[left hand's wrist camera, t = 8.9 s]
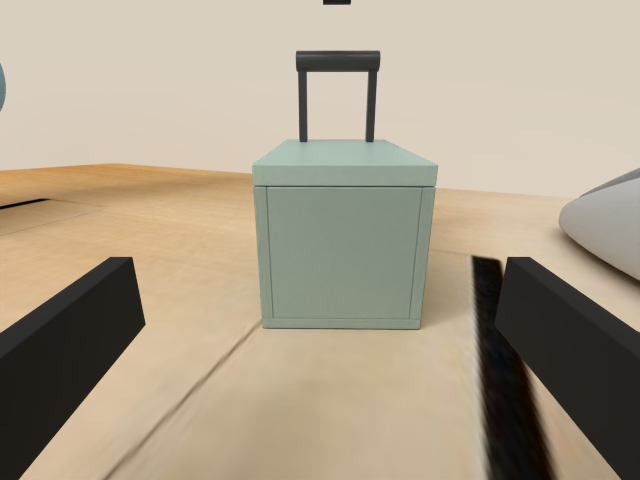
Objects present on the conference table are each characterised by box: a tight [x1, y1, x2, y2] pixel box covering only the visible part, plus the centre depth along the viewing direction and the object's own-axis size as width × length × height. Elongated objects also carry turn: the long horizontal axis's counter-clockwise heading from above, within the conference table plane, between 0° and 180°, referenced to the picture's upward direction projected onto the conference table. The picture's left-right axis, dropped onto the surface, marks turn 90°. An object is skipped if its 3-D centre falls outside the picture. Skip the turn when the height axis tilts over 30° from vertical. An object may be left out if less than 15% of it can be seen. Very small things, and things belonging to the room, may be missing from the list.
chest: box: [254, 186, 435, 329], centre depth 29 cm, size 17×10×9 cm, turn 179°
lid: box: [252, 51, 438, 186], centre depth 26 cm, size 18×10×9 cm, turn 179°
